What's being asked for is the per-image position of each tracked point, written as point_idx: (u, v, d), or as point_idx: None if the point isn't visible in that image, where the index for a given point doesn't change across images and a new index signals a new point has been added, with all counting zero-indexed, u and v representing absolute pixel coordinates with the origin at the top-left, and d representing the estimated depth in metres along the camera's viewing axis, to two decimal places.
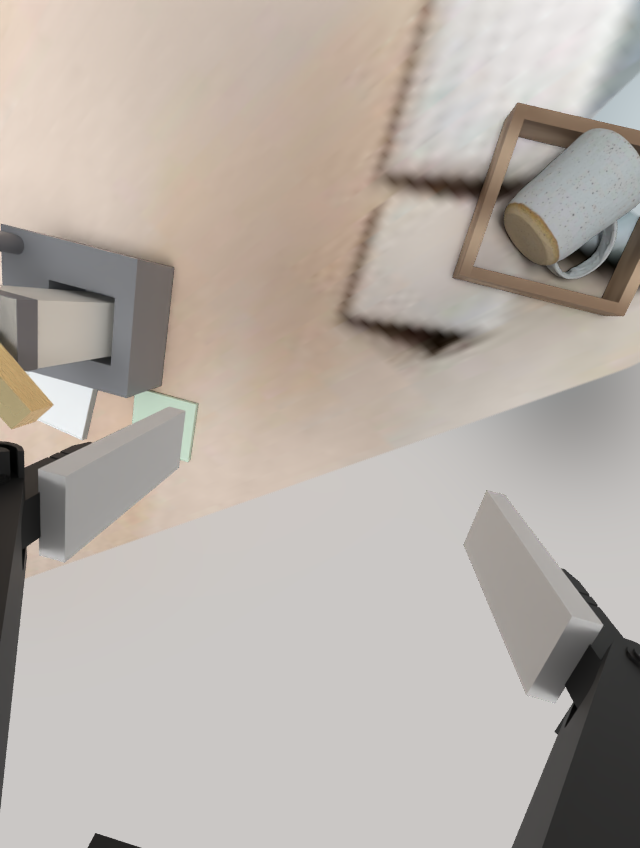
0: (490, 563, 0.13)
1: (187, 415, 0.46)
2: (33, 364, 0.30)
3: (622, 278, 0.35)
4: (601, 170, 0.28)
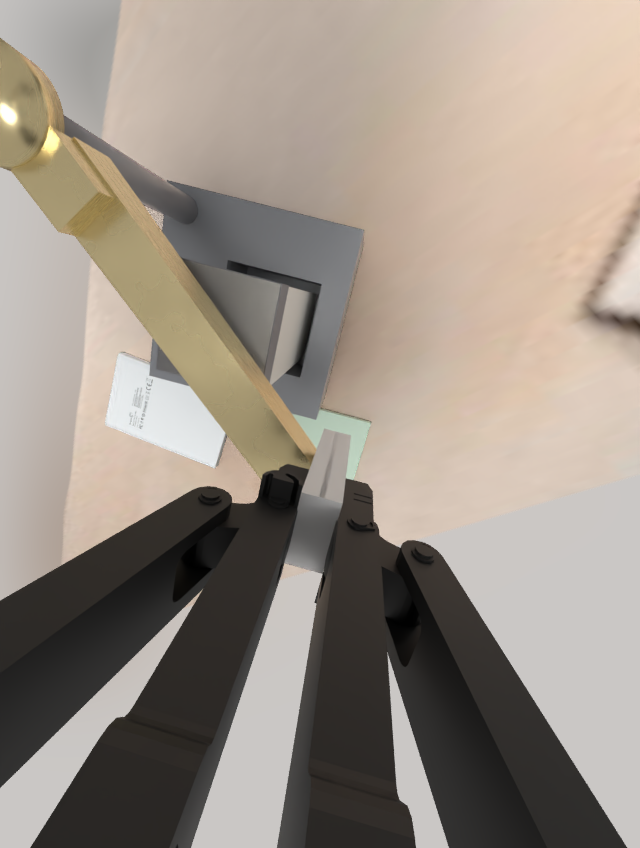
0: None
1: (356, 436, 0.36)
2: None
3: None
4: None
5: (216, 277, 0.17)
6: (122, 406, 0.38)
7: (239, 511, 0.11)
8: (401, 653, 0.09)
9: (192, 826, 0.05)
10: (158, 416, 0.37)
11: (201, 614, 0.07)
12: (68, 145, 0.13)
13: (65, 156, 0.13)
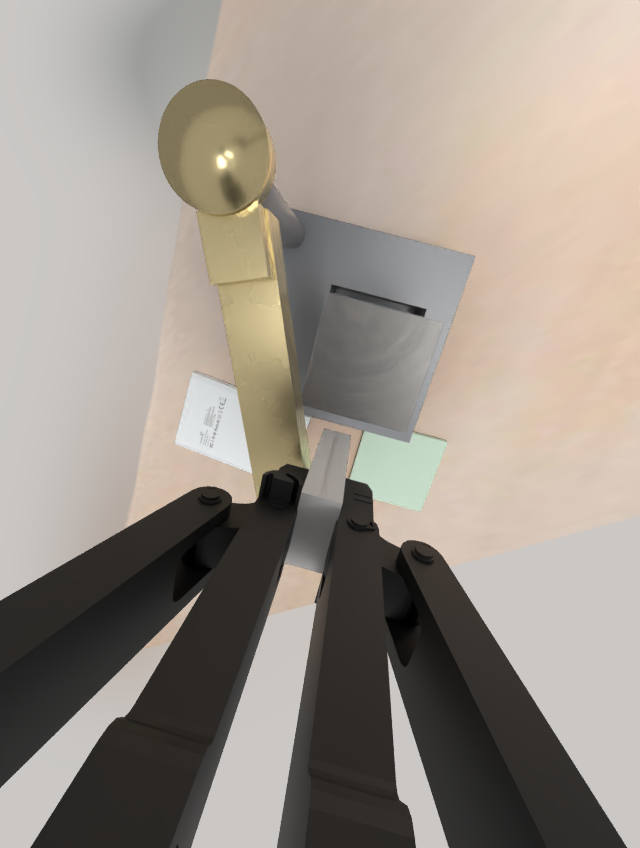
0: None
1: (432, 455, 0.36)
2: None
3: None
4: None
5: (376, 315, 0.17)
6: (193, 425, 0.37)
7: (239, 511, 0.11)
8: (401, 653, 0.09)
9: (192, 826, 0.05)
10: (230, 435, 0.37)
11: (201, 614, 0.07)
12: (262, 222, 0.13)
13: (256, 232, 0.13)
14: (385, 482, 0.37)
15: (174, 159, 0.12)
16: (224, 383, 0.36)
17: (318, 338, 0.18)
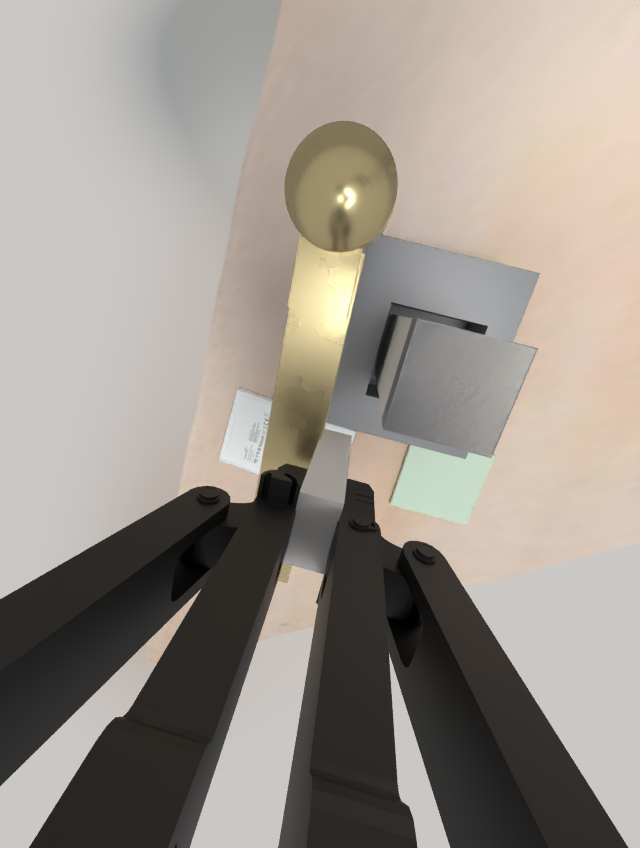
0: None
1: (479, 468, 0.36)
2: None
3: None
4: None
5: (467, 341, 0.17)
6: (238, 441, 0.38)
7: (237, 510, 0.11)
8: (403, 654, 0.09)
9: (191, 825, 0.05)
10: None
11: (199, 614, 0.07)
12: (358, 268, 0.13)
13: (349, 276, 0.13)
14: (430, 495, 0.37)
15: (299, 183, 0.12)
16: (269, 399, 0.36)
17: (406, 364, 0.18)
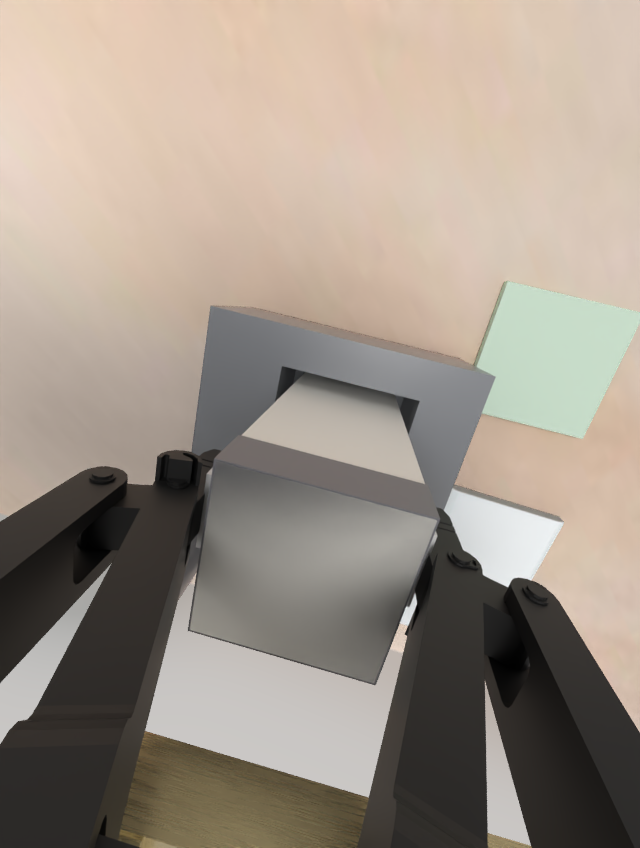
0: None
1: (529, 304, 0.22)
2: (413, 487, 0.10)
3: None
4: None
5: (215, 565, 0.10)
6: None
7: (138, 492, 0.10)
8: (504, 694, 0.09)
9: (120, 801, 0.05)
10: None
11: (104, 604, 0.06)
12: None
13: None
14: (573, 377, 0.23)
15: None
16: None
17: (259, 647, 0.11)
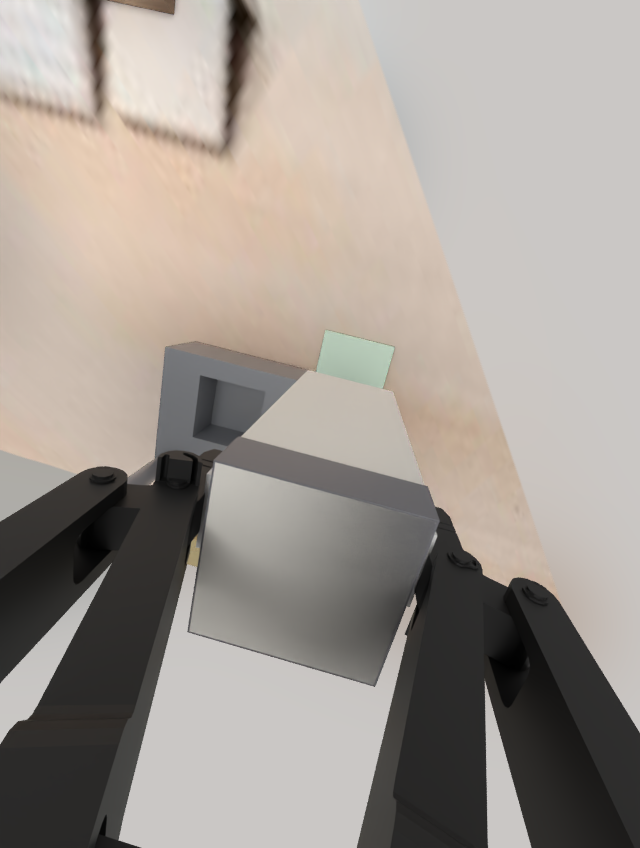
0: None
1: (337, 342, 0.41)
2: (413, 488, 0.10)
3: None
4: None
5: (214, 567, 0.10)
6: None
7: (138, 492, 0.10)
8: (503, 694, 0.09)
9: (120, 801, 0.05)
10: None
11: (104, 604, 0.06)
12: None
13: None
14: (365, 380, 0.42)
15: None
16: None
17: (259, 648, 0.11)
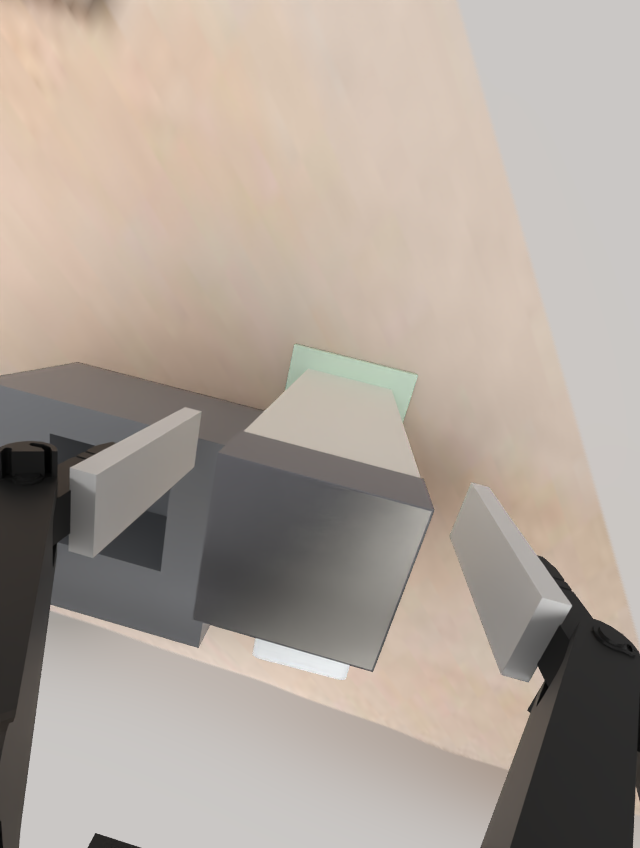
0: (472, 552, 0.14)
1: (316, 365, 0.23)
2: (409, 480, 0.10)
3: None
4: None
5: (218, 556, 0.10)
6: (315, 659, 0.30)
7: None
8: None
9: (15, 809, 0.05)
10: None
11: None
12: None
13: None
14: None
15: None
16: None
17: (261, 635, 0.11)
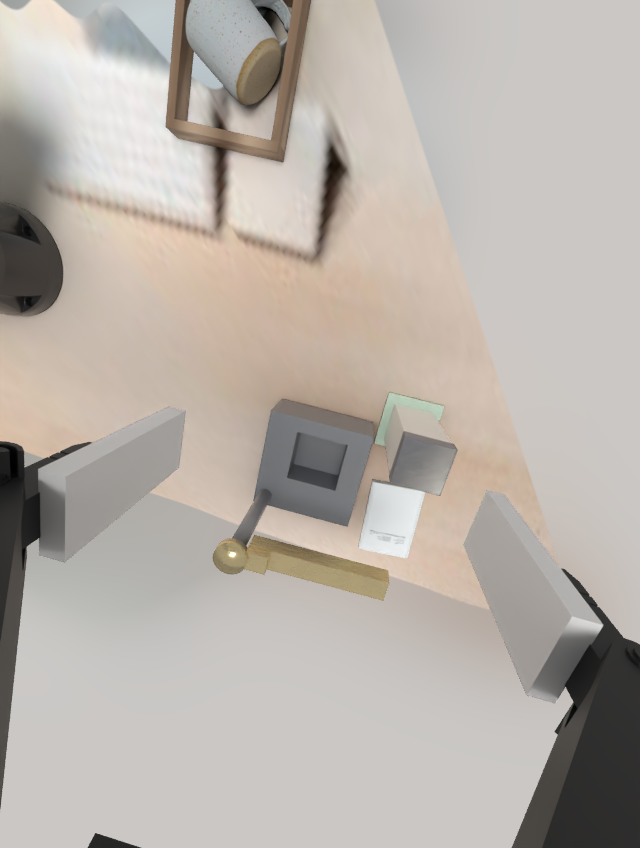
0: (490, 563, 0.13)
1: (398, 401, 0.53)
2: (450, 444, 0.40)
3: None
4: (210, 16, 0.37)
5: (400, 463, 0.40)
6: (391, 547, 0.59)
7: None
8: None
9: None
10: (394, 526, 0.58)
11: None
12: (251, 551, 0.39)
13: (254, 556, 0.39)
14: None
15: (228, 570, 0.39)
16: None
17: (409, 486, 0.40)
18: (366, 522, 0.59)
